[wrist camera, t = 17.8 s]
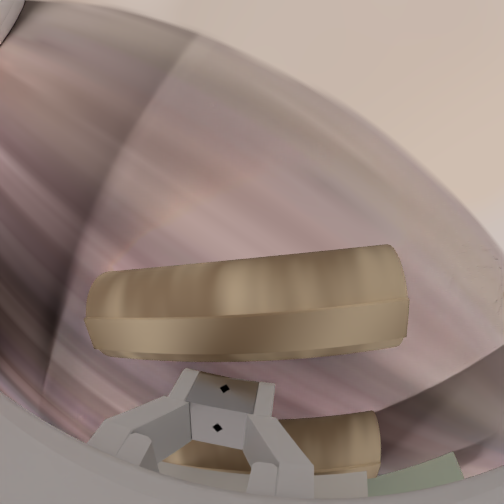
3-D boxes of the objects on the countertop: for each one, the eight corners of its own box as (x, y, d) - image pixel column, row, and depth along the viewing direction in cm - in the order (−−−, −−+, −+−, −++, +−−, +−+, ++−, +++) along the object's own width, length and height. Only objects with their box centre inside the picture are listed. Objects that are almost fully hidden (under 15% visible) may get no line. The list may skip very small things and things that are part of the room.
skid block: (358, 493, 17) (361, 525, 13) (358, 478, 16) (362, 513, 13) (445, 467, 15) (455, 495, 12) (452, 449, 15) (464, 480, 11)
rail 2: (184, 442, 17) (165, 484, 13) (167, 402, 16) (141, 447, 12) (364, 439, 15) (372, 488, 11) (370, 396, 14) (385, 449, 10)
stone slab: (190, 489, 17) (187, 509, 16) (143, 456, 9) (134, 498, 7) (300, 497, 17) (299, 518, 16) (366, 470, 9) (368, 512, 7)
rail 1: (143, 332, 15) (104, 373, 11) (124, 261, 14) (74, 288, 10) (377, 319, 13) (402, 367, 9) (376, 235, 12) (410, 260, 8)
